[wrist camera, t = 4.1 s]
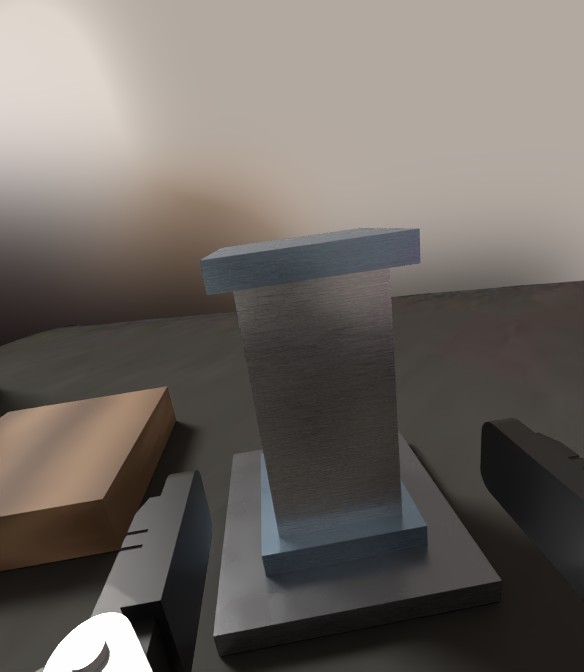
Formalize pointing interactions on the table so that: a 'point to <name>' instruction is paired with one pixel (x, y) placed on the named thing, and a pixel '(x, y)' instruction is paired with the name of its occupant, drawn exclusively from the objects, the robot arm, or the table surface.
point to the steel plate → (343, 572)
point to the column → (324, 391)
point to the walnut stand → (77, 474)
